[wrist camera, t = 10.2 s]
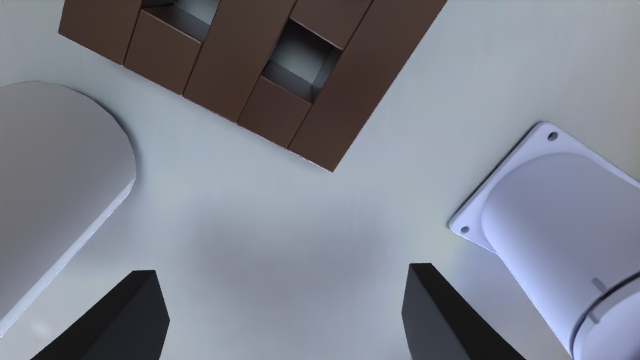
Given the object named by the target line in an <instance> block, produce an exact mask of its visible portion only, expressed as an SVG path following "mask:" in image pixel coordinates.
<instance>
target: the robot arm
mask: <svg viewBox="0 0 640 360" xmlns="http://www.w3.org/2000/svg"><path fill="white" fill-rule="evenodd" d="M552 132H553V135H552V136H551V137H550V138H548V136H549V134H550V133H552ZM465 226H466V228H465V229H461V228H462V227H465ZM449 227H450V229H451V231H453V232H454V233H456V234H458V235H460V236H462V237H464V238H466V239H468V240H470V241H472V242H474V243H476V244H478V245H480V246H482V247H483V248H485V249H487V250H489V251H491V252H493V253H495V254H497V255H499V256H500V258H501V259H502V260H503V262H504V263H505V265H506V266H507V267H508V269H509V270H510V272H511V273H512V274H513V276H514V277H515V279H516V280H517V281H518V283H519V284H520V286H521V287H522V288H523V290H524V291H525V293H526V294H527V296H528V297H529V298H530V300H531V301H532V303H533V304H534V305H535V307H536V308H537V310H538V311H539V312H540V314H541V315H542V317H543V318H544V319H545V321H546V322H547V324H548V325H549V326H550V328H551V329H552V331H553V332H554V333H555V335H556V336H557V338H558V339H559V340H560V342H561V343H562V345H563V346H564V347H565V349H566V350H567V352H568V353H569V354H570V356H571V357H572V359H573V360H640V183H638V182H637V181H636V180H634V179H633V178H631V177H630V176H628V175H627V174H625V173H624V172H622V171H621V170H619V169H618V168H617V167H615V166H614V165H612V164H611V163H609V162H608V161H606V160H605V159H603V158H602V157H600V156H599V155H597V154H596V153H595V152H593V151H592V150H590V149H589V148H587V147H586V146H584V145H583V144H581V143H580V142H578V141H577V140H576V139H574V138H573V137H571V136H570V135H568V134H567V133H565V132H564V131H562V130H561V129H559V128H558V127H557V126H555V125H554V124H552V123H550V122H548V121H542V122H540V123H538V124H537V125H536V126H535V127H534V128H533V129H532V130H531V131H530V133H529V134H528V135H527V136H526V137H525V138H524V139H523V140H522V141H521V142H520V144H519V145H518V146H517V147H516V148H515V149H514V150H513V151H512V152H511V154H510V155H509V156H508V157H507V158H506V159H505V160H504V161H503V162H502V163H501V165H500V166H499V167H498V168H497V169H496V170H495V171H494V172H493V173H492V175H491V176H490V177H489V178H488V179H487V180H486V181H485V182H484V183H483V185H482V186H481V187H480V188H479V189H478V190H477V191H476V192H475V193H474V194H473V196H472V197H471V198H470V199H469V200H468V201H467V202H466V203H465V204H464V206H463V207H462V208H461V209H460V210H459V211H458V212H457V213H456V214H455V215H454V217H453V218H452V219H451V220H450V221H449ZM401 314H402V319H403V324H404V328H405V333H406V338H407V342H408V347H409V350H410V353H411V357H412V360H526V359H525V358H524V357H523V356H521V355H520V354H519V353H518V352H517V351H516V350H515V349H514V348H513V347H512V346H511V345H510V344H509V343H507V342H506V341H505V340H504V339H503V338H502V337H501V336H500V335H499V334H498V333H497V332H496V331H495V330H494V329H493V328H492V327H491V326H490V325H489V324H488V323H487V322H486V321H485V320H484V319H483V318H482V317H481V316H480V315H479V314H478V313H477V312H476V311H475V310H474V309H473V308H472V307H471V306H470V305H469V304H468V303H467V302H466V301H465V300H464V298H463V297H462V296H461V295H460V294H459V293H458V292H457V291H456V290H455V289H454V288H453V287H452V286H451V284H450V283H449V282H448V281H447V280H446V279H445V278H444V277H443V276H442V275H441V274H440V272H439V271H438V270H437V269H436V268H435V267H434V266H433V265H432V264H431V263H411V264H409V270H408V276H407V282H406V289H405V295H404V301H403V307H402V313H401ZM169 322H170V319H169V315H168V312H167V309H166V305H165V302H164V298H163V295H162V292H161V288H160V285H159V281H158V278H157V275H156V271H155V270H137V271H132V272H131V273H130V274H129V275H127V276H126V277H125V278H124V279H123V280H122V281H121V282H119V283H118V284H117V285H116V286H115V287H114V288H113V289H112V290H110V291H109V292H108V293H107V294H106V295H105V296H104V297H103V298H102V299H101V300H99V301H98V302H97V303H96V304H95V305H94V306H93V307H92V308H90V309H89V310H88V311H87V312H86V313H85V314H84V315H83V316H81V317H80V318H79V319H78V320H77V321H76V322H75V323H73V324H72V325H71V326H70V327H69V328H68V329H67V330H65V331H64V332H63V333H62V334H61V335H60V336H58V337H57V338H56V339H55V340H54V341H52V342H51V343H50V344H49V345H47V346H46V347H45V348H44V349H43V350H41V351H40V352H39V353H38V354H37V355H35V356H34V357H33V358H32V359H30V360H159V358H160V355H161V351H162V348H163V345H164V341H165V337H166V334H167V330H168V326H169Z"/></svg>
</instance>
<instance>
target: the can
mask: <svg viewBox="0 0 640 360" xmlns="http://www.w3.org/2000/svg"><path fill="white" fill-rule="evenodd" d="M135 178H136V160H135V155H134V152H133V150H132V147H131V144H130V142H129V139H128V137H127V135H126V134H125V132H124V131H123V130H122V129H121V127H120V126H119V125H118V123H117V122H116V121H115V119H114V118H113V117H112V115H110V114H109V113H108V112H107V111H105V110H104V109H103V108H102V107H100V106H99V105H98V104H97V103H95V102H94V101H93V100H92V99H90V98H89V97H86V96H84V95H82V94H80V93H78V92H76V91H74V90H72V89H70V88H67V87H65V86H62V85H56V84H51V83H46V82H41V81H32V82H23V83H15V84H10V85H7V86H4V87H1V88H0V338H1V337H2V336H3V335H4V334H5V333H6V331H7V330H8V329H9V328H10V327H11V326H12V325H13V324H14V322H15V321H16V320H17V319H18V318H19V317H20V316H21V315H22V313H23V312H24V311H25V310H26V309H27V308H28V307H29V306H30V304H31V303H32V302H33V301H34V300H35V299H36V298H37V297H38V295H39V294H40V293H41V292H42V291H43V290H44V289H45V288H46V287H47V285H48V284H49V283H50V282H51V281H52V280H53V279H54V278H55V276H56V275H57V274H58V273H59V272H60V271H61V270H62V269H63V267H64V266H65V265H66V264H67V263H68V262H69V261H70V260H71V258H72V257H73V256H74V255H75V254H76V253H77V252H78V251H79V249H80V248H81V247H82V246H83V245H84V244H85V243H86V242H87V241H88V239H89V238H90V237H91V236H92V235H93V234H94V233H95V232H96V230H97V229H98V228H99V227H100V226H101V225H102V224H103V223H104V221H105V220H106V219H107V218H108V217H109V216H110V215H111V214H112V212H113V211H114V210H115V209H116V208H117V207H118V206H119V205H120V203H121V202H122V201H123V200H124V199H125V198H126V197H127V196H128V194H129V193H130V191H131V189H132V186H133V183H134V181H135Z"/></svg>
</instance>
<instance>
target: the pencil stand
mask: <svg viewBox="0 0 640 360" xmlns="http://www.w3.org/2000/svg"><path fill="white" fill-rule="evenodd" d="M173 2H174V0H65V3H64V7H63V12H62V16H61V21H60V26H59V30H58V33H59V34H61V35H63V36H65V37H66V38H68V39H70V40H72V41H74V42H76V43H78V44H80V45H82V46H84V47H86V48H88V49H90V50H92V51H94V52H96V53H98V54H100V55H102V56H104V57H106V58H108V59H110V60H111V61H113V62H115V63H117V64H119V65H123V66H124V67H125V68H127V69H129V70H131V71H133V72H135V73H137V74H139V75H141V76H143V77H145V78H147V79H149V80H151V81H153V82H155V83H157V84H159V85H161V86H163V87H165V88H167V89H169V90H170V91H172V92H174V93H176V94H178V95H181V96H182V95H183V97H184V98H186V99H188V100H190V101H192V102H194V103H196V104H198V105H200V106H202V107H204V108H206V109H208V110H210V111H211V112H213V113H215V114H217V115H219V116H221V117H223V118H225V119H227V120H229V121H231V122H233V123H237V125H238V126H240V127H242V128H244V129H246V130H248V131H250V132H252V133H254V134H256V135H258V136H260V137H262V138H264V139H266V140H268V141H270V142H272V143H274V144H276V145H278V146H279V147H281V148H283V149H287V150H288V151H290V152H292V153H294V154H296V155H297V156H299V157H301V158H303V159H305V160H307V161H309V162H311V163H313V164H315V165H317V166H319V167H321V168H323V169H325V170H327V171H329V172H331V173H332V172H333V171H334V170H335V168H336V167H337V165H338V164H339V162H340V161H341V159H342V158H343V156H344V155H345V153H346V152H347V150H348V149H349V147H350V146H351V144H352V143H353V141H354V140H355V138H356V137H357V135H358V134H359V132H360V131H361V129H362V128H363V126H364V125H365V123H366V122H367V120H368V119H369V117H370V116H371V114H372V113H373V111H374V110H375V108H376V107H377V105H378V104H379V102H380V101H381V99H382V98H383V96H384V95H385V93H386V92H387V90H388V89H389V87H390V86H391V84H392V83H393V81H394V80H395V78H396V77H397V75H398V74H399V72H400V71H401V69H402V68H403V66H404V65H405V63H406V62H407V60H408V59H409V57H410V56H411V54H412V53H413V51H414V50H415V48H416V47H417V45H418V44H419V42H420V41H421V39H422V38H423V36H424V35H425V33H426V32H427V30H428V29H429V27H430V26H431V24H432V23H433V21H434V20H435V18H436V17H437V15H438V14H439V12H440V11H441V9H442V8H443V6H444V5H445V3H446V2H447V0H220V3H219V5H218V8H217V10H216V13H215V15H214V18H213V20H212V23H211V25H208V24H206V23H204V22H203V21H201V20H199V19H198V18H196V17H194V16H192V15H191V14H189V13H187V12H185V11H184V10H182V9H180V8H178V7H177V6H175V5H173ZM289 18H291V19H292V20H294V21H295V22H297V23H299V24H300V25H302V26H303V27H305V28H307V29H308V30H310V31H311V32H313V33H315V34H316V35H318V36H319V37H321V38H323V39H324V40H326V41H328V42H329V43H331V44H332V45H334V47H333V49H332V51H331V52H330V54H329V56H328V58H327V60H326V61H325V63H324V65H323V67H322V68H321V70H320V72H319V74H318V75H317V77H316V79H315V81H314V83H313V84H310V83H309V82H307V81H305V80H303V79H302V78H300V77H298V76H296V75H295V74H293V73H291V72H290V71H288V70H286V69H284V68H283V67H281V66H279V65H277V64H276V63H274V62H272V61H270V60H269V59H270V57H271V55H272V53H273V51H274V49H275V47H276V45H277V43H278V41H279V39H280V37H281V35H282V33H283V31H284V29H285V27H286V25H287V22H288V20H289Z"/></svg>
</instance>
